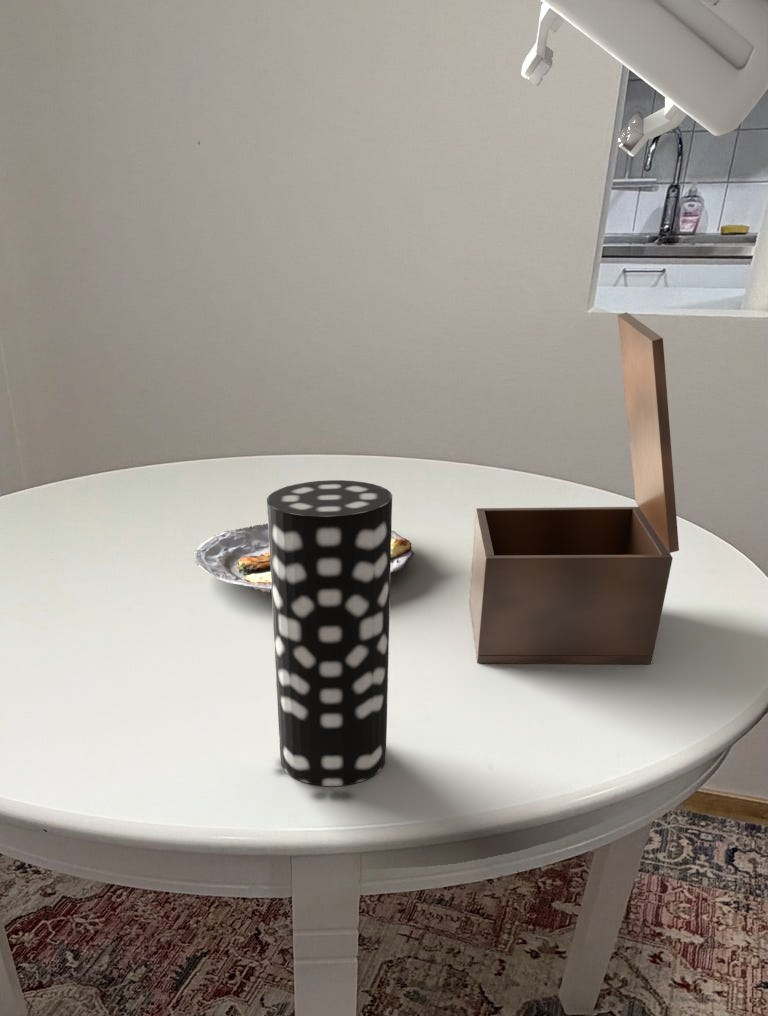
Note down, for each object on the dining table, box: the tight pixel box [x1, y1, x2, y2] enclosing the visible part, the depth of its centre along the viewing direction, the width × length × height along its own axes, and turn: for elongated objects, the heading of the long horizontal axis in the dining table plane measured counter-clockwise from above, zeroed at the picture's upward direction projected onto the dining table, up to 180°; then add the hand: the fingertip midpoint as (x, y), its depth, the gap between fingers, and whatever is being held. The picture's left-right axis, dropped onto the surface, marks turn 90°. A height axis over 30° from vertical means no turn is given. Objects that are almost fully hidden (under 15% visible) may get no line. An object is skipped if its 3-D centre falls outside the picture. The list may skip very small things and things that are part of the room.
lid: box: [617, 311, 680, 554], centre depth 81 cm, size 17×15×1 cm
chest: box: [468, 506, 674, 665], centre depth 90 cm, size 16×15×10 cm
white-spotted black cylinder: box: [266, 479, 393, 787], centre depth 69 cm, size 8×8×20 cm
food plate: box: [193, 523, 415, 593], centre depth 109 cm, size 25×23×4 cm
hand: (578, 112), depth 73 cm, fingers open, 8 cm apart
